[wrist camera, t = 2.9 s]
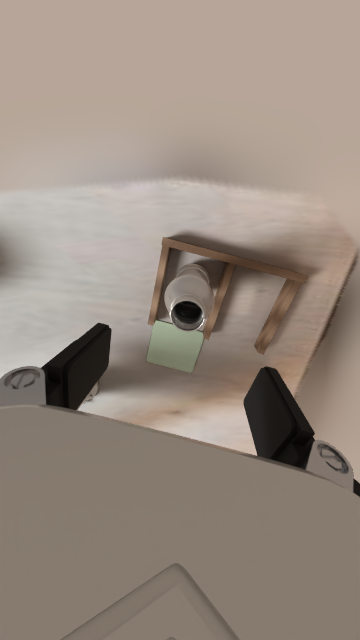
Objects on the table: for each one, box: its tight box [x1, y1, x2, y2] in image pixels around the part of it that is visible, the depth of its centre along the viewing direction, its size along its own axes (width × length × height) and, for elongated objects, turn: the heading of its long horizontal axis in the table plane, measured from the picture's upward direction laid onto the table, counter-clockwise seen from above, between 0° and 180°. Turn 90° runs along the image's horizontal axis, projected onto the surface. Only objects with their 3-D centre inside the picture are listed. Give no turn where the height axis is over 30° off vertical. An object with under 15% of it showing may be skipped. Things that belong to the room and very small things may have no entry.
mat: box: [146, 320, 204, 373], centre depth 43 cm, size 12×12×1 cm
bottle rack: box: [148, 237, 309, 354], centre depth 36 cm, size 17×26×4 cm
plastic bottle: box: [164, 264, 215, 332], centre depth 27 cm, size 6×7×20 cm
